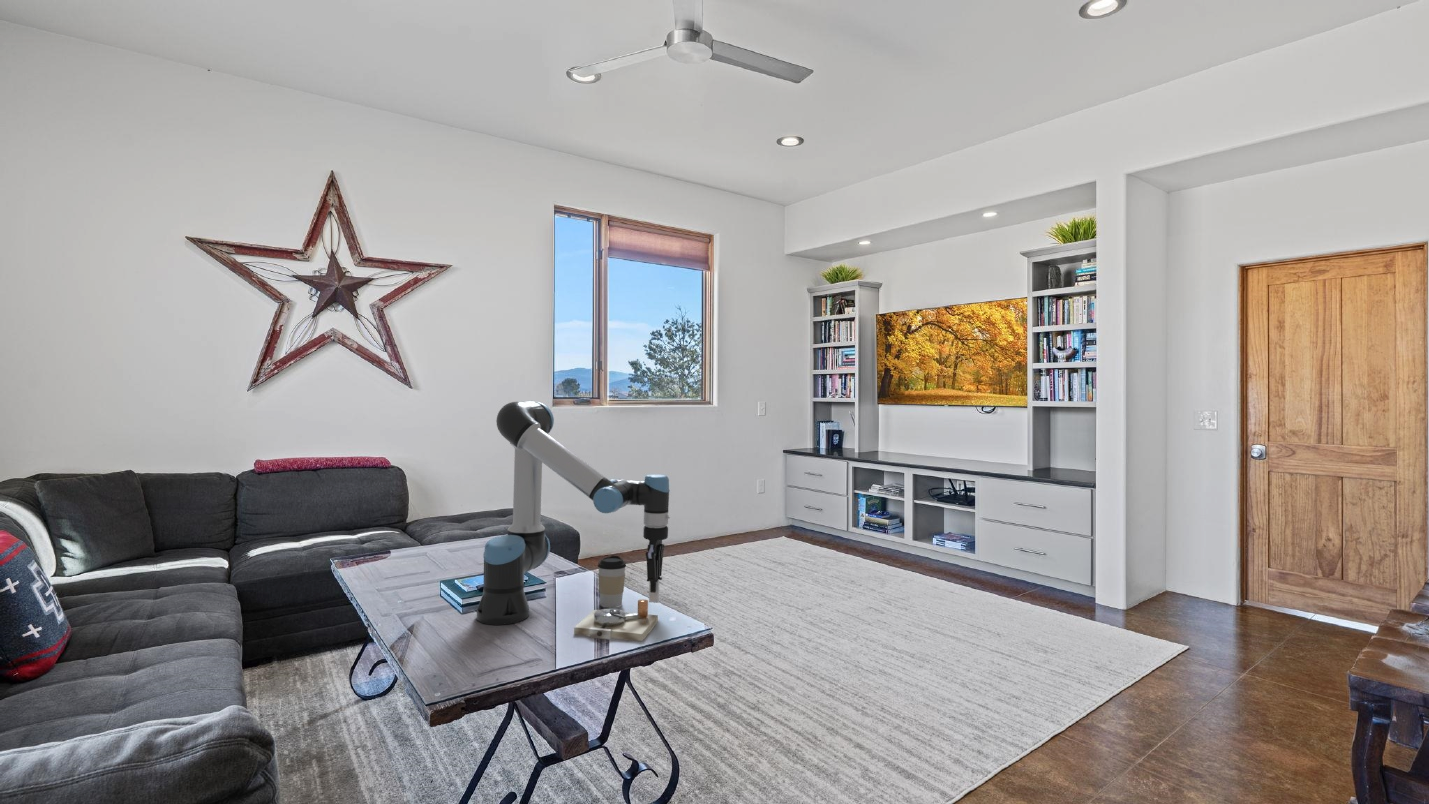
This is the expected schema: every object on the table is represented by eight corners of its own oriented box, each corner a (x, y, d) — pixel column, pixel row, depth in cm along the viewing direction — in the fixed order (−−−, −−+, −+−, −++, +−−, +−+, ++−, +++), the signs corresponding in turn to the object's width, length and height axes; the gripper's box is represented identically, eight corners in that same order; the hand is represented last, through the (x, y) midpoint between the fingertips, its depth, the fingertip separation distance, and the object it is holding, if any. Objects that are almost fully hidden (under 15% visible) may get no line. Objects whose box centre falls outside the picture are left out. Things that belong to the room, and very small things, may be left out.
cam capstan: (599, 628, 191) (599, 612, 191) (590, 617, 200) (591, 601, 200) (653, 622, 198) (653, 606, 198) (642, 611, 207) (643, 596, 207)
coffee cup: (619, 609, 215) (620, 562, 214) (592, 607, 216) (593, 560, 216) (628, 601, 223) (630, 555, 223) (602, 598, 225) (603, 553, 225)
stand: (571, 636, 191) (571, 628, 191) (594, 615, 208) (594, 608, 208) (639, 643, 187) (640, 635, 187) (657, 622, 205) (657, 614, 205)
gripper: (662, 530, 202) (660, 609, 203) (673, 522, 215) (671, 596, 215) (637, 528, 204) (635, 607, 204) (650, 520, 216) (648, 594, 217)
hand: (653, 601), depth 210 cm, fingers closed
